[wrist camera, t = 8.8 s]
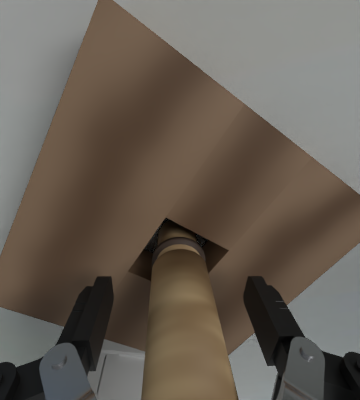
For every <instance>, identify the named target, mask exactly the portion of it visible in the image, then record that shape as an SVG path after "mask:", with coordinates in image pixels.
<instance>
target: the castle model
mask: <svg viewBox="0 0 360 400" xmlns="http://www.w3.org/2000/svg"><path fill="white" fill-rule="evenodd" d="M144 359H145V352H144V351H141V350H138V349H135V348H131V347H128V346H125V345H122V344H119V343H115V342H112V341H109V340H106V339H104V341H103V345H102V349H101V353H100V357H99V361H98V364H97V368H96V371H89V373H88V376H87V378H88V381H89V383H90V386H91V388H92V391H93V392H94V393H95V396H96V398H97V400H141V395H142V383H143V371H144Z"/></svg>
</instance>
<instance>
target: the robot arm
mask: <svg viewBox="0 0 360 400" xmlns="http://www.w3.org/2000/svg"><path fill="white" fill-rule="evenodd" d="M243 300H244V305H245V308H246V310H247V313H248V315H249V318H250V321H251V323H252V326H253V329H254V331H255V334H256V337H257V339H258V342H259V345H260V347H261V350H262V353H263V355H264V358H265V360H266V363H267V366H276V369H277V371H278V373H277V376H276V380H275V385H274V389H273V394H272V398H271V400H360V354H359V353H355V352H348V353H346V354H345V356H344V357H340V356H336V355H333V354H330V353H326V352H324V351H321V350H320V348H319V347H318V346H317V345H316V344H315V343H314V342H312V341H311V340H309V339H307V338H305V336H304V334H303V333H302V331H301V329H300V328H299V326H298V324H297V322H296V321H295V319H294V317H293V316H292V314H291V312H290V310H289V309H288V307H287V305H286V303H285V302H284V300H283V298H282V297H281V295H280V293H279V292H278V291H277V290H276V289H275V288H274V287H273V286H272V285H267V284H266V282H265V280H264V278H263V277H262V276H248V278H247V282H246V286H245V290H244V294H243ZM113 301H114V293H113V285H112V277H111V276H97V278H96V280H95V282H94V285H93V286H86V287H85V288H84V289H83V290H82V292H81V293H80V294H79V295H78V298H77V300H76V302H75V305H74V307H73V309H72V312H71V313H70V316H69V318H68V320H67V322H66V324H65V327H64V329H63V331H62V333H61V336H60V338H59V340H58V342H57V344H56V345H55V346H54V347H53V348H51V349H50V350H49V351H48V352H47V353H46V354H45V355H44V357H42V358H40V359H38V360H36V361H33V362H30V363H27V364H24V365H22V366H19V367H15V365H14V364H12V363H10V362H3V363H0V400H97V398H96V396H95V393H94V392H93V391H92V388H91V386H90V383H89V381H88V378H87V376H88V373H89V371H96V368H97V364H98V361H99V357H100V353H101V349H102V345H103V341H104V338H105V334H106V330H107V326H108V322H109V318H110V315H111V311H112V307H113Z"/></svg>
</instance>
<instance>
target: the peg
mask: <svg viewBox="0 0 360 400" xmlns="http://www.w3.org/2000/svg"><path fill="white" fill-rule="evenodd" d="M152 266H153V267H152V277H151V289H150V300H149V312H148V324H147V336H146V347H145V359H144V371H143V383H142V395H141V400H238V395H237V391H236V387H235V383H234V379H233V374H232V370H231V366H230V362H229V358H228V354H227V349H226V345H225V341H224V337H223V333H222V329H221V324H220V320H219V316H218V312H217V308H216V303H215V299H214V295H213V291H212V287H211V283H210V278H209V274H208V270H207V266H206V263H205V254H204V251H203V249H202V247H201V246H200V245H199V243H197V238H196V233H195V232H193V231H191V230H189V229H187V228H185V227H183V226H181V225H179V224H177V223H175V222H174V221H172V220H169V221H167V222H165V223H164V224H163V225H162V226H161V227H160V229H159V232H158V246H157V247H156V248H155V250H154V252H153V256H152Z"/></svg>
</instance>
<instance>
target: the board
mask: <svg viewBox="0 0 360 400" xmlns="http://www.w3.org/2000/svg"><path fill="white" fill-rule="evenodd" d="M165 218H168V219H170V220H172V221H174V222H175V223H177V224H179V225H181V226H183V227H185V228H187V229H189V230H191V231H193V232H195V233H197V234H198V235H200V236H202V237H204V238H206V239H208V241H207V242H206V243H205V244H204V246H203V247H202V249H203V251H204V254H205V263H206V266H207V270H208V274H209V278H210V283H211V287H212V291H213V295H214V299H215V303H216V308H217V312H218V316H219V320H220V324H221V329H222V333H223V337H224V341H225V345H226V349H227V354H228V355H229V354H230V353H232V352H233V351H234V350H235V349H236V348H237V347H238V346H240V345H241V344H242V343H243V342H244V341H245V340H247V339H248V338H249V337H250V336H251V335H252V334H254V333H255V331H254V329H253V326H252V323H251V321H250V318H249V315H248V313H247V310H246V308H245V305H244V300H243V294H244V290H245V286H246V282H247V278H248V276H262V277H263V278H264V280H265V282H266V284H267V285H272V286H273V287H274V288H275V289H276V290H277V291H278V292H279V293H280V295H281V297H282V298H283V300H284V302H285V303H286V305H287V304H289V303H290V302H291V301H292V300H293V299H294V298H296V297H297V296H298V295H299V294H300V293H301V292H303V291H304V290H305V289H306V288H307V287H308V286H309V285H311V284H312V283H313V282H314V281H315V280H316V279H318V278H319V277H320V276H321V275H322V274H323V273H325V272H326V271H327V270H328V269H329V268H330V267H332V266H333V265H334V264H335V263H336V262H337V261H339V260H340V259H341V258H342V257H343V256H344V255H346V254H347V253H348V252H349V251H350V250H351V249H353V248H354V247H355V246H356V245H357V244H358V243H360V194H358V193H357V192H356V191H354V190H353V189H352V188H351V187H349V186H348V185H347V184H346V183H344V182H343V181H342V180H340V179H339V178H338V177H337V176H335V175H334V174H333V173H332V172H330V171H329V170H328V169H327V168H325V167H324V166H323V165H321V164H320V163H319V162H318V161H316V160H315V159H314V158H313V157H311V156H310V155H309V154H307V153H306V152H305V151H304V150H302V149H301V148H300V147H299V146H297V145H296V144H295V143H293V142H292V141H291V140H290V139H288V138H287V137H286V136H285V135H283V134H282V133H281V132H280V131H278V130H277V129H276V128H274V127H273V126H272V125H271V124H269V123H268V122H267V121H266V120H264V119H263V118H262V117H260V116H259V115H258V114H257V113H255V112H254V111H253V110H252V109H250V108H249V107H248V106H246V105H245V104H244V103H243V102H241V101H240V100H239V99H238V98H236V97H235V96H234V95H233V94H231V93H230V92H229V91H227V90H226V89H225V88H224V87H222V86H221V85H220V84H219V83H217V82H216V81H215V80H213V79H212V78H211V77H210V76H208V75H207V74H206V73H205V72H203V71H202V70H201V69H199V68H198V67H197V66H196V65H194V64H193V63H192V62H191V61H189V60H188V59H187V58H186V57H184V56H183V55H182V54H180V53H179V52H178V51H177V50H175V49H174V48H173V47H172V46H170V45H169V44H168V43H166V42H165V41H164V40H163V39H161V38H160V37H159V36H158V35H156V34H155V33H154V32H152V31H151V30H150V29H149V28H147V27H146V26H145V25H144V24H142V23H141V22H140V21H139V20H137V19H136V18H135V17H133V16H132V15H131V14H130V13H128V12H127V11H126V10H125V9H123V8H122V7H121V6H119V5H118V4H117V3H116V2H114V1H113V0H98V2H97V5H96V8H95V10H94V13H93V16H92V18H91V21H90V23H89V26H88V29H87V31H86V34H85V36H84V39H83V42H82V44H81V47H80V49H79V52H78V55H77V57H76V60H75V63H74V65H73V68H72V70H71V73H70V76H69V78H68V81H67V83H66V86H65V89H64V91H63V94H62V97H61V99H60V102H59V104H58V107H57V110H56V112H55V115H54V117H53V120H52V123H51V125H50V128H49V130H48V133H47V136H46V138H45V141H44V144H43V146H42V149H41V151H40V154H39V157H38V159H37V162H36V164H35V167H34V170H33V172H32V175H31V177H30V180H29V183H28V185H27V188H26V191H25V193H24V196H23V198H22V201H21V204H20V206H19V209H18V211H17V214H16V217H15V219H14V222H13V224H12V227H11V230H10V232H9V235H8V238H7V240H6V243H5V245H4V248H3V251H2V253H1V256H0V307H2V308H5V309H9V310H12V311H15V312H18V313H22V314H25V315H28V316H31V317H35V318H38V319H41V320H44V321H47V322H51V323H54V324H57V325H60V326H64V327H65V324H66V322H67V320H68V318H69V316H70V313H71V312H72V309H73V307H74V305H75V302H76V300H77V298H78V295H79V294H80V293H81V292H82V290H83V289H84V288H85V287H86V286H93V285H94V282H95V280H96V278H97V276H111V277H112V285H113V293H114V301H113V307H112V311H111V315H110V318H109V322H108V326H107V330H106V334H105V338H104V339H106V340H109V341H112V342H115V343H119V344H122V345H125V346H128V347H131V348H135V349H138V350H141V351H144V352H145V347H146V336H147V324H148V312H149V300H150V289H151V277H152V267H153V266H152V256H153V253H151V252H149V251H147V250H145V249H144V248H145V246H146V245H147V243H148V242H149V240H150V239H151V238H152V236H153V235H154V233H155V232H156V230H157V229H158V228H159V226H160V225H161V223H162V222H163V220H164V219H165Z"/></svg>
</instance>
